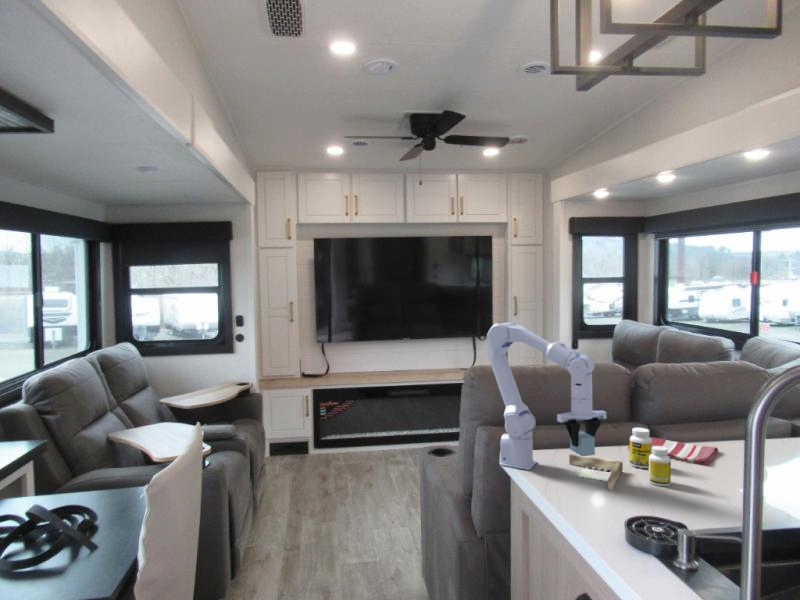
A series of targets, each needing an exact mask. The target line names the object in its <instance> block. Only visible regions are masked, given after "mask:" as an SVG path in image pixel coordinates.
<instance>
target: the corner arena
mask: <svg viewBox="0 0 800 600" xmlns="http://www.w3.org/2000/svg"><path fill="white" fill-rule="evenodd" d="M568 458H569V459H568V460H569V465H570V464H575V465H574V466H576V465H583V466H588V467H586V468H587V469H583V468H582V470H581V471H580V472H579V474H578V476H579V477H578V478H582V477H584V478H583V479H588V478H589V480H594V479H596V480H595V481H599V480H602V481H601V482H605V481H608V482H607V491H609V490H610V491H609V492H612V491H613V489H614V488H613V487H615V485H616V483H617V481H616V480H618V479H619V477H618V475H619V476H620V474H621V473H620V472H622V471H623V469H624V468H623V465H624V463H623V461H619V460H615V459H613V460H612V459H608V458H607V459H606V458H600V457H599V458H598V457H593V456H581V455H579V454H576V453H575V454H574V453H569V455H568ZM589 467H595V468H601V469H607V470H612V471H610V472H611V474H610V476H609V478H608V479H607V477H601V476H599V475H597V474H596V475H593V474H592V473H591V471H590V470H589V469H588V468H589ZM595 468H594V469H595ZM601 469H600V470H601ZM607 470H606V471H607ZM592 472H593V470H592ZM593 473H594V472H593ZM619 473H620V474H619ZM622 473H623V472H622ZM594 474H595V473H594ZM590 478H591V479H590ZM617 478H618V479H617Z"/></svg>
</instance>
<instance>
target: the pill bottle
mask: <svg viewBox="0 0 800 600" xmlns="http://www.w3.org/2000/svg"><path fill="white" fill-rule="evenodd" d="M650 437H651V436H650V429H648V428H644V427H633V428H632V435H630V437H629V446H630V451H629V464H631V465H632V467H633V466H635V467H634V468H636V467H639V468H638V469H641V468H648V469H649V456H650V455H651V454H652V439H651V438H650ZM631 465H630V466H631Z"/></svg>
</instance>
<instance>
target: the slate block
mask: <svg viewBox="0 0 800 600" xmlns="http://www.w3.org/2000/svg"><path fill="white" fill-rule="evenodd" d="M595 438H596V436H595V437H593V436H591V435H589V434H587V433H586V431H585V432H584V431H579V435H578V447H575V446H573V445H572V442H571V438H570V437H569V450H570V451H572V452H573V453H575V454H576V455H581V456H588V457H590V456H596V455H595V454H596V449H595V447H596V446H595V445H596V443H595V441H596V439H595Z"/></svg>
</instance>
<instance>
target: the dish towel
mask: <svg viewBox="0 0 800 600" xmlns="http://www.w3.org/2000/svg"><path fill="white" fill-rule="evenodd" d="M649 437H650V438H651V439H652V447H653V446H662V447H666V448H667V449H668V454H667V456H668V457H669V458H670V460H672V459H675V460H674V461H678V460H681V461H680V462H683V461H685V462H684V463H689V464H695V465H698V466H705V467H708V466H709V464H710V463H711V462H712V461H713V460H714V458H715V456H716V455H718V454H719V448H718V447H716V446H704V445H703V446H702V445H698V444H697V445H696V444H690V443H684V442H679V441H674V440H673V441H672V440H668V439H664V438H659V437H652V436H649ZM628 449H629V450H630V445H628V447H627V450H628ZM652 454H653V453H652Z"/></svg>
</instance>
